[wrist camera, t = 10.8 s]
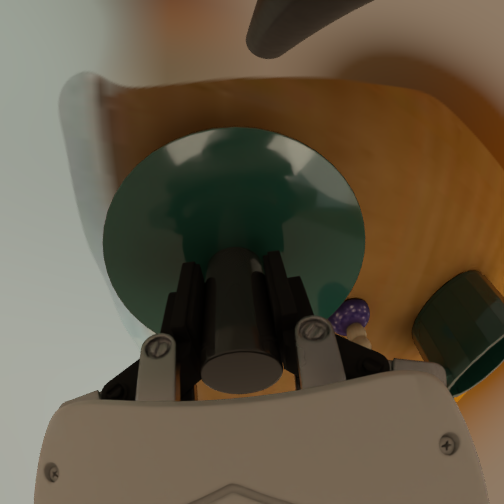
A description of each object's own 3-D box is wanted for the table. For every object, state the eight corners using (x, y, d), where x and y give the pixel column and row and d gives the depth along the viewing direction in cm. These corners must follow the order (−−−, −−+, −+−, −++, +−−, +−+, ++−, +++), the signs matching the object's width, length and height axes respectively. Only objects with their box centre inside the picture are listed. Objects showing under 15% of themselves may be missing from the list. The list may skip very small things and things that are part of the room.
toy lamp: (348, 335, 27) (398, 480, 13) (312, 328, 26) (357, 494, 12) (375, 303, 25) (446, 456, 11) (340, 292, 23) (411, 473, 9)
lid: (78, 159, 11) (-20, 226, 5) (362, 116, 11) (473, 154, 5) (154, 348, 18) (140, 438, 12) (344, 325, 18) (379, 411, 12)
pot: (409, 285, 24) (457, 357, 16) (505, 259, 24) (546, 304, 16) (383, 358, 31) (408, 419, 23) (474, 325, 31) (502, 369, 23)
